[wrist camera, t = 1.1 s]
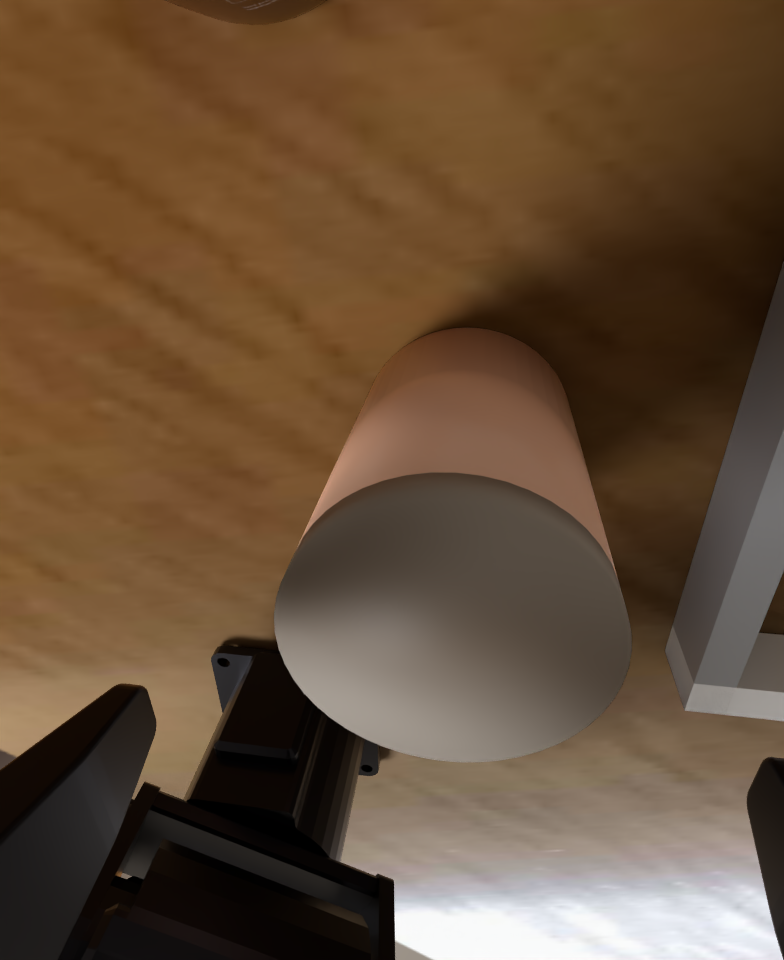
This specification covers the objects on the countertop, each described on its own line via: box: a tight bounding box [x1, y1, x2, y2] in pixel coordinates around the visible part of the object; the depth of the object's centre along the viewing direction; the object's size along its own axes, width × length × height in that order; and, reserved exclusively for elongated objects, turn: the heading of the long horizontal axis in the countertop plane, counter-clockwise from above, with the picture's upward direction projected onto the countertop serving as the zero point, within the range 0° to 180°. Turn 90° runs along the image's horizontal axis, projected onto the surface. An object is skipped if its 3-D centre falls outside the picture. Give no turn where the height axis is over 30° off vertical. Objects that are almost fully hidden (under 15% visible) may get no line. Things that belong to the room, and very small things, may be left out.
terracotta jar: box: [274, 327, 632, 762], centre depth 14 cm, size 6×6×9 cm
